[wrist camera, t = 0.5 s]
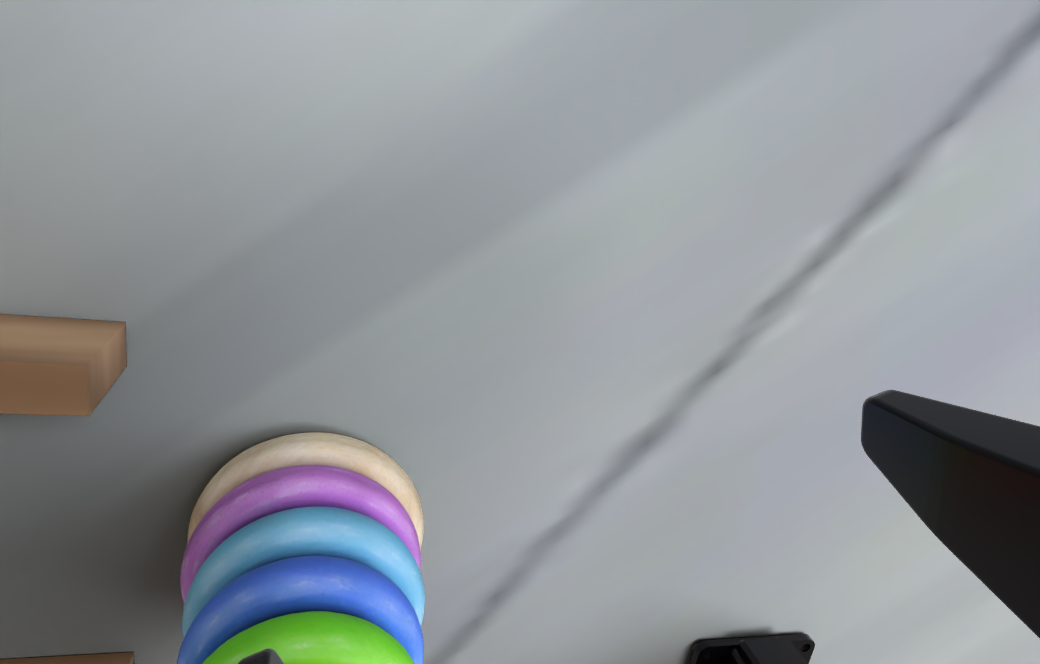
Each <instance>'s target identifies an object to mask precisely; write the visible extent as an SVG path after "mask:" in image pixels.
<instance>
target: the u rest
mask: <svg viewBox="0 0 1040 664" xmlns="http://www.w3.org/2000/svg"><path fill="white" fill-rule="evenodd" d="M126 367H127V358H126V322H116V321H101V320H85V319H70V318H55V317H40V316H24V315H9V314H0V414H32V415H64V416H90V414H91V413H92V412H93V410H94V409H95V408H96V406H97V405H98V404H99V402H100V401H101V400H102V398H103V397H104V396H105V394H106V393H107V392H108V391H109V389H110V388H111V387H112V385H113V384H114V383H115V381H116V380H117V379H118V377H119V376H120V375H121V373H122V372H123V371H124V369H125V368H126ZM0 664H134V652H127V653H109V654H91V655H73V656H55V657H37V658H19V659H1V660H0Z"/></svg>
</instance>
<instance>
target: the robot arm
mask: <svg viewBox="0 0 1040 664" xmlns="http://www.w3.org/2000/svg"><path fill="white" fill-rule="evenodd" d="M861 442H862V446H863V449H864V451H865V452H866V454H867V455H868V457H869V458H870V459H871V460H872V462H873V463H874V464H875V465H876V466H877V467H878V469H879V470H880V471H881V472H882V473H883V475H884V476H885V477H886V478H887V479H888V481H889V482H890V483H891V484H892V485H893V487H894V488H895V489H896V490H897V491H898V492H899V494H900V495H901V496H902V497H903V498H904V500H905V501H906V502H907V503H908V504H909V506H910V507H911V508H912V509H913V510H914V511H915V513H916V514H917V515H918V516H919V517H920V519H921V520H922V521H923V522H924V523H925V524H926V526H927V527H928V528H929V529H930V530H931V531H932V532H933V533H934V534H935V536H936V537H937V538H938V539H939V540H940V541H941V542H942V543H943V544H944V545H945V546H946V547H947V548H948V549H949V550H950V551H951V552H952V553H953V554H954V555H955V556H956V557H957V558H958V559H959V560H960V561H961V562H962V563H963V564H964V565H965V566H966V567H967V568H968V569H970V570H971V571H972V572H973V573H974V574H975V575H976V576H977V577H978V578H979V579H980V580H981V581H982V582H983V583H984V584H985V585H986V586H987V587H988V588H989V589H990V590H991V591H992V592H993V593H994V594H995V595H996V596H997V597H998V598H999V599H1000V600H1001V601H1002V602H1003V603H1004V604H1005V605H1006V606H1007V607H1008V608H1009V609H1010V610H1011V611H1012V612H1013V613H1014V614H1015V615H1016V616H1017V617H1018V618H1019V619H1020V620H1021V621H1022V622H1024V623H1025V624H1026V625H1027V626H1028V627H1029V628H1030V629H1031V630H1032V631H1033V632H1034V633H1035V634H1036V635H1037V636H1038V637H1039V638H1040V426H1036V425H1032V424H1028V423H1024V422H1020V421H1016V420H1012V419H1008V418H1004V417H1000V416H996V415H992V414H988V413H984V412H980V411H976V410H972V409H968V408H964V407H960V406H956V405H952V404H948V403H944V402H940V401H936V400H932V399H928V398H924V397H920V396H916V395H912V394H908V393H904V392H900V391H895V390H887V391H884V392H881V393H879V394H876V395H874V396H872V397H869V398H867V399H866V400H865V402H864V404H863V408H862V427H861ZM814 647H815V643H814V641H813V640H812V639H811V638H810V636H809V635H807V634H793V635H778V636H762V637H747V638H731V639H716V640H704V641H701V642H700V643H698V644H697V645H696V646H695V648H694V651H693V654H692V658H691V661H690V664H808V663H809V661H810V658H811V655H812V652H813V650H814ZM238 664H284V663H283V661H282V660H281V658H280V657H279V655H278V654H277V653H276V652H275V651H274V650H273V649H270V648H268V649H264V650H262V651H259V652H257V653H255V654H252V655H250V656H247V657H245V658H243V659H242V660H240V661H239V663H238Z"/></svg>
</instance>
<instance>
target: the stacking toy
mask: <svg viewBox="0 0 1040 664" xmlns="http://www.w3.org/2000/svg"><path fill="white" fill-rule="evenodd" d="M423 529H424V521H423V513H422V507H421V503H420V500H419V497H418V494H417V492H416V490H415V488H414V486H413V484H412V482H411V480H410V479H409V477H408V476H407V474H406V473H405V472H404V471H403V469H402V468H401V467H400V466H399V465H398V464H397V463H396V462H395V461H394V460H393V459H392V458H390V457H389V456H388V455H386V454H385V453H384V452H382V451H381V450H379V449H377V448H376V447H374V446H372V445H370V444H368V443H366V442H363V441H361V440H358V439H355V438H352V437H348V436H344V435H339V434H333V433H321V432H312V433H297V434H291V435H285V436H281V437H277V438H274V439H271V440H268V441H265V442H262V443H260V444H257V445H255V446H253V447H251V448H249V449H247V450H245V451H243V452H242V453H240V454H239V455H237V456H236V457H234V458H233V459H232V460H230V461H229V462H228V463H227V464H225V465H224V466H223V467H222V468H221V469H220V470H219V471H218V472H217V473H216V474H215V476H214V477H213V478H212V479H211V480H210V482H209V483H208V484H207V486H206V487H205V489H204V490H203V492H202V494H201V495H200V497H199V499H198V501H197V503H196V505H195V507H194V510H193V512H192V515H191V519H190V523H189V529H188V539H187V547H186V549H185V552H184V556H183V560H182V564H181V572H180V587H181V595H182V599H183V603H184V611H183V619H182V633H183V642H182V645H181V648H180V651H179V655H178V660H177V664H238V663H239V661H240V660H242V659H243V658H245V657H247V656H250V655H252V654H255V653H257V652H259V651H262V650H264V649H268V648H270V649H273V650H274V651H275V652H276V653H277V654H278V655H279V657H280V658H281V660H282V661H283V663H284V664H423V658H424V643H423V635H422V630H421V625H422V620H423V615H424V606H425V592H424V585H423V580H422V576H421V573H420V565H421V552H420V549H421V545H422V539H423Z"/></svg>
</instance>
